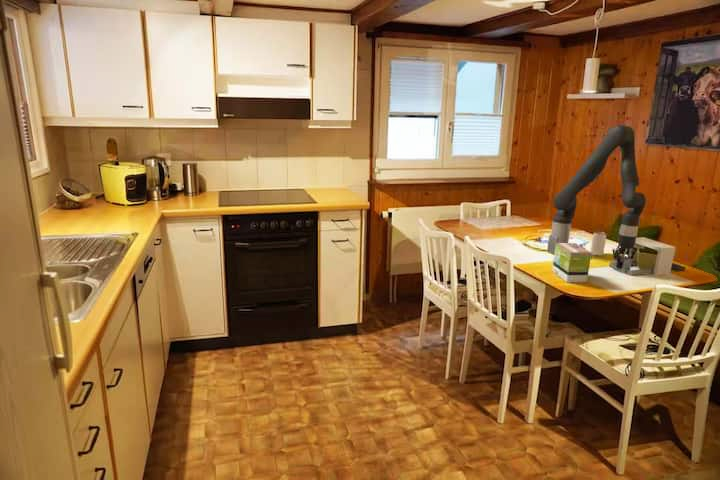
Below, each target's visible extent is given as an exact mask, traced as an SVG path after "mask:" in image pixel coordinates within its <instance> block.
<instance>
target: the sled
mask: <svg viewBox="0 0 720 480" xmlns="http://www.w3.org/2000/svg"><path fill="white" fill-rule="evenodd" d="M620 258H621V256H620ZM616 265H617V260H615V259H614V261H611V262H610V263H609V266H608V267H611V268H612V269H613V270H616V271H619V272H620V273H623V274H628V275H630V276H637V275H649V274H653V273H654V268H655V266H654V267H653V268H650V269H631V266H636V265H637V260H632V259H631V258H628V257H626V256H625V257H624V258H623V261H622V267H621V269H618V268H617V267H616ZM637 266H638V265H637Z"/></svg>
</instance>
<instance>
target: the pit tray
mask: <svg viewBox="0 0 720 480" xmlns="http://www.w3.org/2000/svg"><path fill="white" fill-rule="evenodd" d="M685 269H686V267H685V266H683V265H680V264H678V263H674V262H672V267H671V270H672V271H675V272H684V271H685Z"/></svg>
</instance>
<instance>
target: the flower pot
mask: <svg viewBox="0 0 720 480" xmlns="http://www.w3.org/2000/svg"><path fill="white" fill-rule="evenodd" d="M657 254H658V250H655V249H647V248H644V249H642V248H639V250H638V255H637V268H638V270H640V269H650V268H653V267H654V266H655V263H656V259H657Z"/></svg>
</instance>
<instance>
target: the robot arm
mask: <svg viewBox="0 0 720 480" xmlns="http://www.w3.org/2000/svg"><path fill="white" fill-rule="evenodd" d="M635 137H636V136H635V130H634V129H633V128H632V127H631V126H629V125H624V124H623V125H622V124H617V125H615V126H612V127H611V128H610V129H609V130H608V131H607V133H606V134H605V136H604V137H603V139H602V140H601V142H600V143H599V145H598V146H597V147H596V149H594V150H593V152H592V153H591V154H590V156H589V157H588V158H587V159H586V160H585V161H584V163H583V164H581V166H580V167H579V168H578V170H577V171H576V173H575V174H574V175H573V176H572V178H571V179H570V181H568V183H567V184H566V185H565V186H564V187H563V188H562V189H561V190H560V191H558V193H557V194H555V196H554V198H553V201H552V205H553V207H554V208H555V209H556V210H557V211H556V214H554V215H553V218H552V227H551V231H550V234H549V235H548V242H547V249H546V252H547V253H550V254H552V255H554V254H555V247H556V243H570V242H569V241H570V236H571V228H572V221H573V219H574V217H575V213H576V207H577V202H578V201H577V195H578V194H579V193H580V192H581V191H583V190H584V189H585V188H587V187H588V186H589V185H591V184H592V183H593V182H594V181H595V180H596V179H597V178H598V177H599V175H600V174H602V172H603V170H604V169H605V167H606V164H607V162H608V160H609V157H610V155H612V153H613V152H614V151H615V150H616V149H617V148H618V147H619V151H620V153H621V154H620V155H621V159H620V160H621V161H620V169H619V170H620V171H619V172H620V178H621V179H620V180H621V183H622V188H621V202H622V204H623V206H625V208H628V210H627V211H625V212H623V215H622V219H621V224H620V228H619V232H618V237H617V243H618V245H617V247H616V248H612V255H613V259H614V261H615V260H617V265H616V267H617V268H618V269H621V267H622V261H623V258H624V257H625V256H626V257H628V258H631V259H633V257H634V255H635V254H636V252H637V250H638V249H637V248H634V246H633V245H635V242H636V238H638V237H637V236H638V231H639V230H638V229H639V228H638V227H639V221H640V217H641V215H642V214H643V210H644V209H645V207H646V203H647V198H646V195H645V193H643V192H639V191H638V192H636V188H637V187H639V186H640V178H639V174H638V168H637V162H636V147H635V145H636V144H635V142H636V140H635V139H636V138H635ZM631 254H632V256H631ZM620 256H621V258H620ZM630 256H631V257H630Z"/></svg>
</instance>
